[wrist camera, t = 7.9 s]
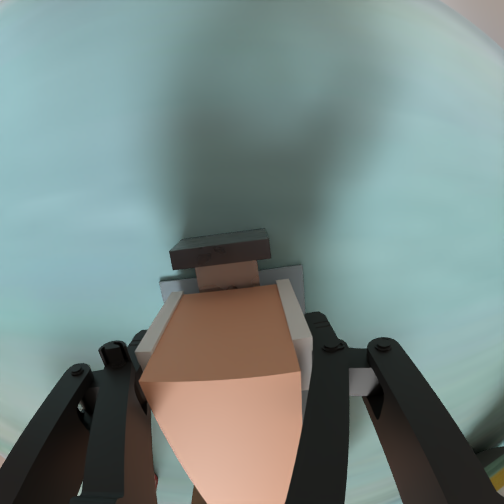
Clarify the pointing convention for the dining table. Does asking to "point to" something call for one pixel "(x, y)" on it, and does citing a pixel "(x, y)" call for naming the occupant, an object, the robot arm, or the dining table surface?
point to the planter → (494, 466)
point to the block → (229, 394)
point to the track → (223, 259)
